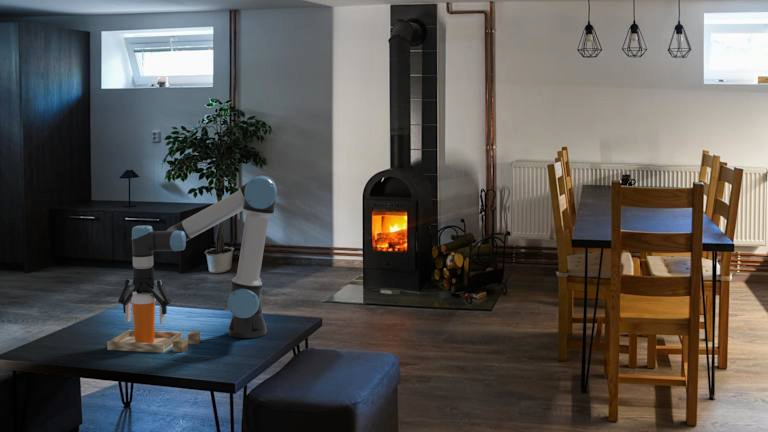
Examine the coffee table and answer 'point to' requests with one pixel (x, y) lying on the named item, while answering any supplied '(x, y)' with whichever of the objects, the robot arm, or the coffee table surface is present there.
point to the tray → (128, 343)
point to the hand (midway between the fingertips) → (145, 322)
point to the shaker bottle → (143, 316)
